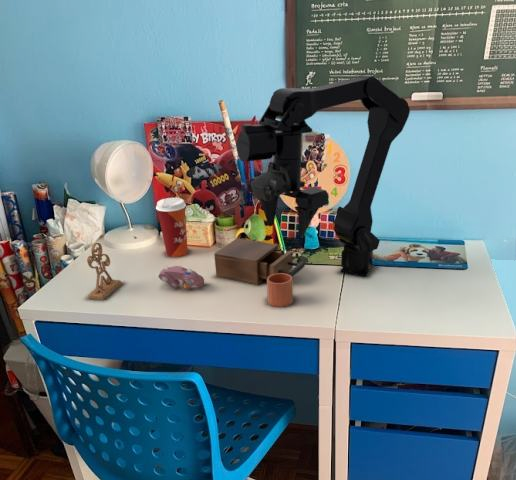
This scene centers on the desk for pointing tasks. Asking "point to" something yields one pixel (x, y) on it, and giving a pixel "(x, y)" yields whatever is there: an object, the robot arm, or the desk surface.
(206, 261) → the desk surface
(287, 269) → the drawer
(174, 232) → the paper cup
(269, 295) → the cup
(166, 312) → the desk surface
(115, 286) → the wooden figurine
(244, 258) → the cabinet
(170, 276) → the purple toy car
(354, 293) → the desk surface
